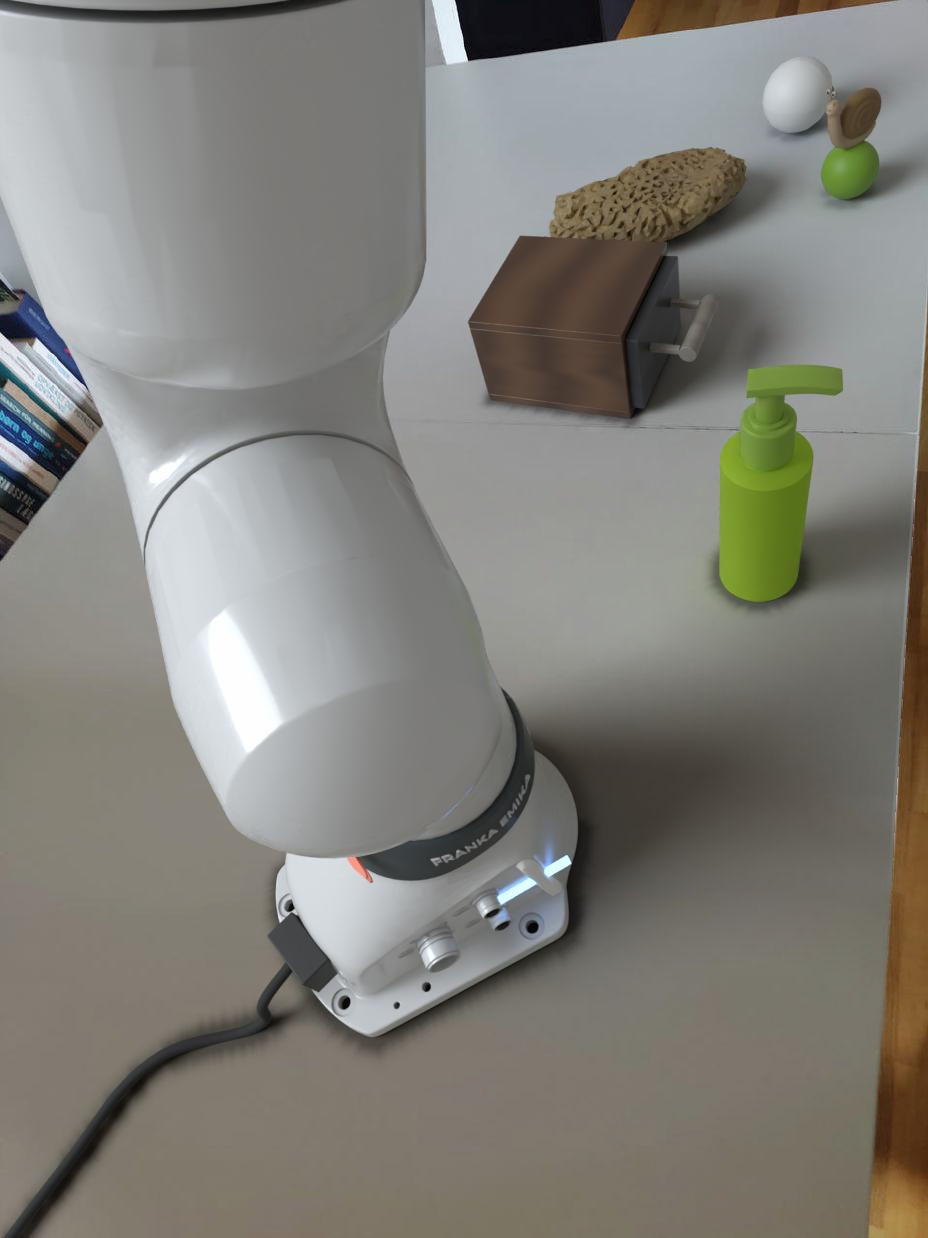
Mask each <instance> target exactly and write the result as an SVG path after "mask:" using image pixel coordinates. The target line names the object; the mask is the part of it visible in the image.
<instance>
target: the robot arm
mask: <svg viewBox="0 0 928 1238" xmlns="http://www.w3.org/2000/svg"><path fill="white" fill-rule="evenodd" d="M426 67H427V66H426V0H0V200H1V203H2V204H3V207H4V211H5V214H6V215H7V218H8V221H9V224H10V226H11V228H12V231H13V234H14V237H15V239H16V242H17V244H18V246H19V249H20V252H21V255H22V257H23V259H24V262H25V265H26V269H27V270H28V272H29V276H30V278H31V282H32V283H33V286H34V288H35V291H36V293H37V296H38V299H39V301H40V304H41V307H42V310H43V311H44V314H45V317H46V319H47V320H48V322H49V324H50V326H51V327H52V328H53V330H54V331H55V333H56V334H57V335H58V336H59V337H60V338H61V339H62V341H63V342H64V344H65V345H66V347H67V349H68V351H69V353H70V354H71V357H72V359H73V360H74V362H75V364H76V367H77V368H78V370H79V373H80V374H81V376H82V380H83V381H84V383H85V385H86V387H87V389H88V391H89V394H90V395H91V398H92V400H93V402H94V405H95V406H96V407H95V408H96V409H97V411H98V413H99V416H100V418H101V420H102V423H103V426H104V428H105V430H106V433H107V435H108V437H109V439H110V442H111V445H112V448H113V450H114V454H115V456H116V459H117V461H118V465H119V469H120V472H121V475H122V478H123V482H124V486H125V490H126V493H127V498H128V501H129V505H130V509H131V512H132V518H133V522H134V526H135V531H136V535H137V540H138V543H139V548H140V552H141V557H142V562H143V566H144V571H145V575H146V579H147V584H148V588H149V589H148V590H149V592H150V598H151V603H152V607H153V613H154V617H155V622H156V627H157V631H158V632H157V633H158V635H159V636H158V637H159V641H160V647H161V650H162V656H163V661H164V665H165V666H164V667H165V670H166V675H167V681H168V685H169V690H170V694H171V695H170V696H171V699H172V704H173V706H174V709H175V711H176V715H177V716H178V719H179V721H180V723H181V726H182V729H183V730H184V733H185V735H186V737H187V740H188V742H189V744H190V746H191V748H192V750H193V752H194V754H195V756H196V759H197V761H198V763H199V765H200V766H201V769H202V771H203V773H204V774H205V776H206V778H207V781H208V782H209V785H210V787H211V788H212V790H213V793H214V794H215V796H216V798H217V800H218V802H219V804H220V805H221V808H222V809H223V811H224V813H225V815H226V817H227V819H228V821H229V822H230V823H231V825H232V826H233V827H234V828H235V830H237V831H238V832H239V833H240V834H241V835H243V836H244V837H246V838H247V839H249V840H251V841H253V842H256V843H258V844H260V845H263V846H264V847H268V848H270V849H272V850H276V851H279V852H283V853H285V860H284V865H283V866H282V867H281V868H280V870H279V871H278V873H277V876H276V883H275V884H276V885H275V904H276V905H275V906H276V912H277V916H278V917H277V918H278V923H279V924H277V926H275V927H274V928H273V929H272V930H271V931H270V932H269V933H268V934H267V936H266V937H267V939H268V940H269V942H270V943H271V945H273V947H274V948H275V949H276V951H277V952H278V954H279V955H280V957H282V959H283V961H284V963H283V965H282V966H281V967H280V969H279V970H278V972H277V973H276V974H275V975H274V977H273V978H272V979H271V980H270V981H269V982H268V984H267V985H266V986H265V988H264V990H263V991H262V993H261V994H260V996H259V999H258V1000H257V1004H256V1014H257V1015H258V1018H256V1019H254V1021H252V1022H250V1023H248V1024H244V1025H242V1026H239V1027H235V1028H232V1029H226V1030H222V1031H217V1032H212V1033H207V1034H202V1035H198V1036H194V1037H190V1038H186V1039H183V1040H180V1041H177V1042H175V1043H173V1044H171V1045H168V1046H166V1047H164V1048H162V1049H160V1050H158V1051H156V1052H155V1053H153V1054H152V1055H150V1056H149V1057H148V1058H146V1059H145V1060H144V1061H143V1062H141V1063H140V1064H139V1065H137V1066H136V1067H135V1068H134V1069H132V1071H131V1072H129V1074H128V1075H126V1077H124V1079H122V1081H121V1082H119V1084H118V1085H117V1087H115V1089H114V1090H113V1091H112V1092H111V1093H110V1095H109V1096H108V1097H107V1098H106V1100H105V1101H104V1102H103V1104H102V1105H101V1106H100V1108H99V1109H98V1110H97V1112H96V1114H95V1115H94V1116H93V1117H92V1119H91V1121H90V1122H89V1123H88V1125H87V1127H86V1128H85V1129H84V1131H83V1132H82V1134H81V1135H80V1136H79V1138H78V1139H77V1140H76V1142H75V1143H74V1145H73V1146H72V1147H71V1148H70V1150H69V1152H68V1153H67V1154H66V1155H65V1157H64V1158H63V1159H62V1160H61V1162H60V1163H59V1165H58V1166H57V1168H55V1170H54V1171H53V1173H51V1175H50V1176H49V1177H48V1179H47V1180H46V1181H45V1182H44V1184H43V1185H42V1186H41V1188H40V1189H39V1191H37V1193H36V1194H35V1195H34V1197H33V1198H32V1199H31V1200H30V1202H29V1203H28V1205H27V1206H26V1207H25V1208H24V1210H23V1211H22V1212H21V1213H20V1215H19V1216H18V1218H17V1219H16V1220H15V1222H14V1223H13V1224H12V1226H11V1227H10V1228H9V1230H8V1231H7V1232H6V1234H5V1235H4V1236H3V1238H19V1237H20V1236H21V1234H22V1233H23V1232H24V1230H25V1229H26V1227H28V1226H29V1224H30V1222H31V1221H32V1220H33V1218H34V1217H35V1216H36V1214H37V1213H38V1211H39V1210H40V1209H41V1208H42V1207H43V1205H44V1204H45V1202H46V1201H47V1200H48V1198H49V1197H50V1196H51V1195H52V1194H53V1192H54V1191H55V1190H56V1189H57V1187H58V1186H59V1185H60V1183H61V1182H62V1181H63V1179H64V1178H65V1177H66V1175H68V1173H69V1172H70V1170H71V1169H72V1168H73V1166H74V1165H75V1164H76V1163H77V1161H78V1160H79V1159H80V1157H81V1156H82V1154H83V1153H84V1152H85V1150H86V1149H87V1147H88V1146H89V1144H90V1143H91V1142H92V1140H93V1138H94V1137H95V1136H96V1134H97V1133H98V1131H99V1130H100V1128H101V1127H102V1126H103V1124H104V1123H105V1122H106V1121H107V1118H108V1117H109V1116H110V1115H111V1113H112V1112H113V1110H114V1109H115V1107H116V1106H117V1105H118V1104H119V1102H120V1101H121V1100H122V1099H123V1097H124V1096H125V1095H126V1094H127V1093H128V1092H129V1091H130V1090H131V1089H132V1088H133V1087H134V1085H136V1084H137V1083H138V1082H139V1081H140V1080H141V1079H142V1078H143V1077H144V1076H146V1075H147V1074H148V1073H149V1072H151V1071H152V1070H153V1069H154V1068H156V1067H157V1066H159V1065H160V1064H162V1063H164V1062H165V1061H167V1060H169V1059H172V1058H173V1057H175V1056H178V1055H181V1054H184V1053H187V1052H189V1051H194V1050H198V1049H201V1048H206V1047H210V1046H213V1045H218V1044H224V1043H226V1042H230V1041H236V1040H239V1039H240V1040H241V1039H243V1038H247V1037H251V1036H253V1035H255V1034H257V1033H259V1032H260V1031H262V1030H263V1029H265V1028H266V1027H267V1026H269V1024H270V1022H271V1021H272V1017H273V1016H272V1013H271V1011H270V1009H269V1006H270V1003H271V1002H272V1000H273V999H274V997H275V996H276V994H277V992H278V991H279V990H280V989H281V988H282V986H283V985H284V983H286V981H287V980H288V979H289V977H290V976H291V975H292V974H294V976H295V977H296V978H297V980H298V981H299V982H300V983H301V985H302V986H303V987H306V988H308V989H310V990H311V991H312V992H313V994H314V995H315V996H316V999H318V1000H319V1001H320V1003H321V1004H322V1005H323V1006H324V1007H325V1009H327V1011H328V1012H330V1014H332V1015H333V1016H334V1017H335V1018H336V1019H338V1020H339V1021H340V1022H342V1024H344V1025H345V1026H347V1027H348V1028H350V1029H351V1030H353V1031H354V1032H357V1033H359V1034H361V1035H364V1036H366V1037H368V1038H376V1037H379V1036H381V1035H384V1034H386V1033H388V1032H390V1031H392V1030H393V1029H395V1028H397V1027H399V1026H401V1025H403V1024H405V1023H406V1022H408V1021H410V1020H412V1019H413V1018H416V1017H418V1016H419V1015H421V1014H423V1013H425V1012H427V1011H428V1010H430V1009H432V1008H434V1007H435V1006H438V1005H440V1004H442V1003H443V1002H445V1001H447V1000H448V999H450V998H452V997H454V996H456V995H458V994H460V993H462V992H463V991H465V990H467V989H468V988H470V987H472V986H475V985H476V984H478V983H479V982H481V981H484V980H485V979H487V978H489V977H492V976H493V975H494V974H496V973H498V972H500V971H502V970H504V969H506V968H507V967H509V966H511V965H513V964H514V963H516V962H518V961H520V960H522V959H524V958H526V957H528V956H529V955H531V954H533V953H535V952H536V951H538V950H540V949H543V948H544V947H546V946H547V945H549V944H552V943H553V942H555V941H557V940H558V939H561V937H562V936H563V935H564V934H565V933H566V931H567V929H568V926H569V920H570V919H569V918H570V912H569V911H570V910H569V908H570V907H569V897H568V890H567V885H568V879H569V875H570V871H571V869H572V868H571V867H572V865H573V862H574V859H575V854H576V850H577V845H578V839H579V837H578V836H579V820H578V812H577V811H578V810H577V806H576V803H575V800H574V795H573V793H572V791H571V788H570V787H569V785H568V782H567V781H566V779H565V778H564V776H563V774H562V773H561V772H560V770H558V768H557V767H556V766H555V764H554V763H552V761H550V760H549V759H548V758H547V756H545V755H543V754H542V753H541V752H539V751H538V750H536V749H535V747H534V744H533V742H532V738H531V735H532V734H531V731H530V728H529V726H528V724H527V721H526V720H525V717H524V715H523V713H522V711H521V710H520V707H519V706H518V705H517V703H516V701H515V700H514V699H513V697H511V695H510V694H509V693H508V692H507V691H506V690H505V689H504V688H503V687H502V686H501V685H500V683H499V681H498V678H497V676H496V674H495V672H494V668H493V666H492V665H491V662H490V660H489V657H488V653H487V649H486V644H485V637H484V633H483V629H482V626H481V623H480V620H479V617H478V615H477V612H476V609H475V606H474V603H473V601H472V598H471V596H470V593H469V590H468V589H467V587H466V585H465V583H464V581H463V579H462V577H461V575H460V574H459V572H458V569H457V568H456V565H455V563H454V562H453V560H452V558H451V555H450V554H449V552H448V550H447V548H446V547H445V544H444V543H443V541H442V538H441V537H440V535H439V533H438V531H437V529H436V527H435V525H434V523H433V521H432V519H431V517H430V515H429V514H428V512H427V510H426V508H425V506H424V504H423V502H422V500H421V498H420V497H419V494H418V492H417V490H416V487H415V485H414V482H413V481H412V479H411V476H410V475H409V472H408V470H407V467H406V465H405V462H404V459H403V457H402V454H401V452H400V449H399V446H398V442H397V440H396V437H395V435H394V431H393V428H392V425H391V421H390V417H389V413H388V409H387V403H386V397H385V387H384V386H385V385H384V370H385V358H386V353H387V349H388V342H389V337H390V334H391V330H392V329H394V327H395V326H396V325H397V324H398V323H399V321H400V320H401V319H402V318H403V316H404V315H405V314H406V313H407V311H408V310H409V308H410V307H411V305H412V303H413V301H414V300H415V298H416V296H417V295H418V292H419V290H420V287H421V285H422V281H423V280H424V274H425V270H426V263H427V94H426V93H427V92H426V89H427V86H426V79H427V78H426V77H427V76H426V75H427V74H426V73H427V71H426ZM292 904H293V907H294V908H293V910H292V911H289V908H290V906H291V905H292ZM533 923H535V924H537V925H538V929H537V931H536V932H533V933H531V932H529V931H528V928H529V926H530V925H531V924H533ZM428 986H430V989H429V990H428V991H427V987H428ZM348 998H349V1000H350V1004H349V1006H348V1007H347V1008H345V1009H344V1008H343V1003H344V1001H345V999H348Z"/></svg>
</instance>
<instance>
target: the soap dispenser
mask: <svg viewBox="0 0 928 1238" xmlns="http://www.w3.org/2000/svg"><path fill="white" fill-rule="evenodd" d="M746 373H747V375H746V399H755V401H754V403H751V404H750V405H749V406H747V407H746V408H745V409H744V411H743V412H742V413H741V416H740V423H739V424H740V425H739V431H738V432H737V433H735V434H734V435H732V436H731V437H730V438H729V439H728V440H727V441H726V442H725V444H723V446H722V448H721V451H720V454H719V531H718V532H719V537H718V538H719V541H718V543H719V546H718V547H719V550H718V552H719V553H718V554H719V557H718V559H719V560H718V563H719V564H718V568H719V570H718V572H719V574H718V575H719V578H720V579H719V580H721V583H722V585H723V586H724V588H725V589H726V590H727V592H729V593H730V594H732V595H733V596H735V597H737V598H739V599H741V600H744V601H748V602H757V603H764V602H769V601H770V602H771V601H773V600H776V599H779V598H781V597H783V596H785V595H786V594H788V592H790V590H792V589H793V587H794V586H795V584H796V582H797V580H798V576H799V570H800V562H801V555H802V547H803V540H804V532H805V525H806V519H807V517H806V516H807V511H808V503H809V495H810V489H811V488H810V487H811V480H812V474H813V473H812V472H813V465H814V449H813V447H812V445H811V443H810V441H809V440H808V439H807V438H806V437H805V436H804V435H803V434H802V433H800V432H799V431H797V426H798V425H797V424H798V423H797V422H798V415H797V412H796V410H795V409H794V408H793V406H791V405H790V404H788V403H787V402H785V400H786V399H785V398H786V396H791V395H821V396H823V395H824V396H833V397H835V396H837V395H839V394H841V393H842V392H843V391H844V377H843V375H844V374H843V369H842V368H840V367H836V366H827V365H818V364H786V365H784V364H783V365H774V366H767V367H757V368H751V369H750V368H748V369H747V372H746Z"/></svg>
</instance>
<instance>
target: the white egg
mask: <svg viewBox="0 0 928 1238" xmlns="http://www.w3.org/2000/svg"><path fill="white" fill-rule="evenodd" d="M828 89H832V92H833V91H835V87H834V86H833V76H832V74H831V72H830V70H829V68H828V67H827V65H826V64H825V63H823V62H822V61H821V60H820V59H819V58H816V57H813V56H809V55H800V56H796V57H793V58H789V59H787V60H785V61H783V62H782V63H780V65H779V66H777V68H776V69H775V70H774V71H773V72H772V73H771V75H770V77H769V79H768V80H767V82H766V84H765V86H764V88H763V94H762V111H763V114H764V117H765V118H766V120H767V122H768V123H769V124H770V126H771V127H773V128H775V130H778V131H779V132H781V133H785V134H796V133H800V132H804V131H806V130H808V129H810V128H811V127H812V126H814V125H815V124H816V123H817V122H818V121H819V120H821V119H822V117H823V116H824V114H826V107H827V105H828V95H827V94H826V92H827V90H828ZM832 98H833V97H832V96H831V95H829V102H830V101H832Z"/></svg>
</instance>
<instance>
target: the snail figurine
mask: <svg viewBox="0 0 928 1238" xmlns="http://www.w3.org/2000/svg"><path fill="white" fill-rule="evenodd" d="M826 94H827V95H828V105H827V107H826V111H825V114H826V115H827V132H828V136H829V140H830V142H831V144H832V145H833V146H834V147H833V148H831V150H830V151H829V152H828V154H827V155H826V156H825V158H824V160H823V163H822V165H821V170H820V177H821V179H820V180H821V184H822V186H823V188H824V189H825V191H826V192H827V194H829V195H830V196H832V197H834V198H837V199H838V200H839V199H840V200H850V199H853V198H857V197H859V196H861V195H863V194H864V193H865V192H866V191H868V189H870V187H871V186H872V185H873V184H874V182H875V180H876V178H877V176H878V174H879V171H880V157H879V153H878V151H877V149H876V148H875V147H874V145H873V144H872V143H870V142H869V141H867V138H868V137H870V136H871V134H872V132H873V131H874V129H875V127H876V125H877V119H878V118H879V115H880V112H881V109H882V96H881V93H880V92H879V90H877V89H876V88H874V87H864V88H861V89H859V90H858V91H856V92H855V93H853V94H852V95H851V96H850V97H849V98H848V99H847V100H846V102H845V103H844V104H843V106H842V102H841V100H839V99H837V96H838V91H837V90H834V91H833V92H832V89H828V90H827V92H826ZM829 95H831V96H832V97H831V98H832V99H831V101H830V102H829ZM835 98H836V99H835Z"/></svg>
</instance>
